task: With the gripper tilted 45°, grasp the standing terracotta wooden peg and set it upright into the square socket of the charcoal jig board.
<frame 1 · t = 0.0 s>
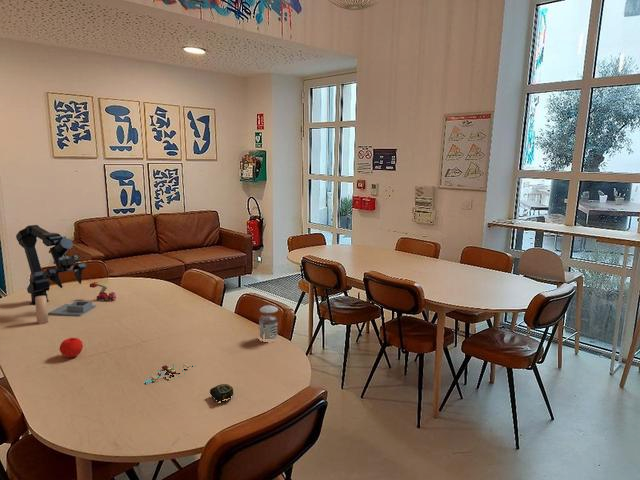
hand: (71, 285, 212), 15 cm above the table, fingers open, 9 cm apart
french press: (267, 339, 192), on the table
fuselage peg: (42, 322, 203), on the table
tape measure: (221, 400, 142), on the table
jig cradle: (80, 311, 219), on the table
apple: (72, 356, 170), on the table
toy fire truck: (103, 300, 238), on the table
gear mechanism: (170, 375, 159), on the table
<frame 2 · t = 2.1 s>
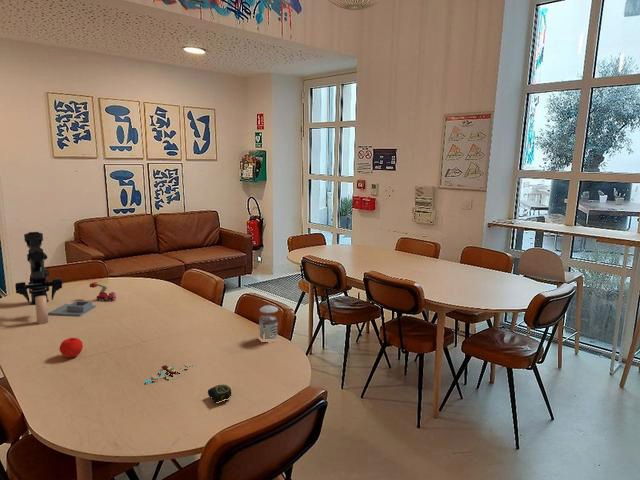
hand: (40, 300, 203), 10 cm above the table, fingers open, 9 cm apart
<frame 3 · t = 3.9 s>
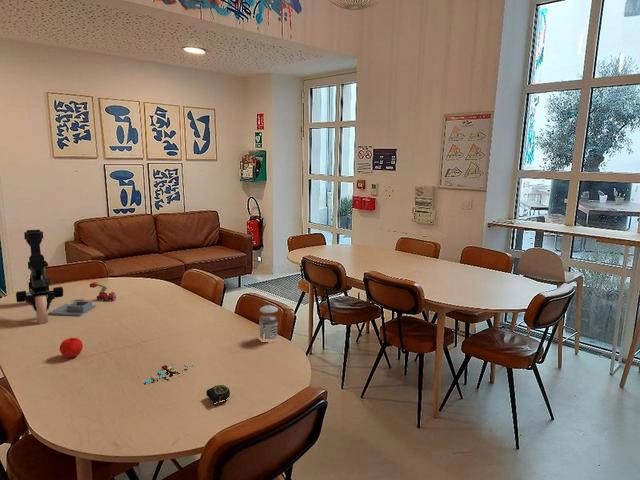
hand: (41, 310, 201), 7 cm above the table, fingers closed on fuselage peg, 4 cm apart
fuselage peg: (42, 322, 203), on the table, touching gripper
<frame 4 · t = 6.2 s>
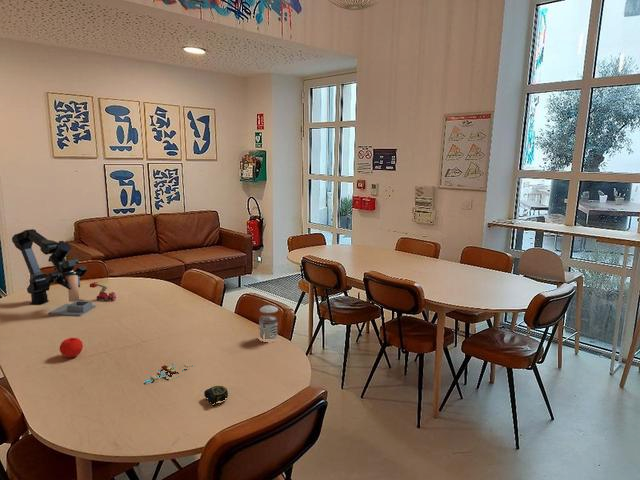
hand: (75, 288, 213), 13 cm above the table, fingers closed on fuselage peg, 4 cm apart
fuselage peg: (74, 300, 215), point 7 cm above the table, touching gripper
when the fingers open (9 cm above the table, at t = 7.9 s): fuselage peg drops 1 cm, resting on jig cradle.
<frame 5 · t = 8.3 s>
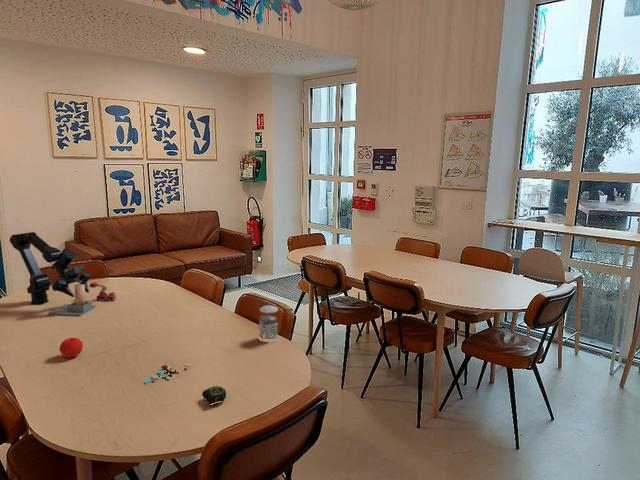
hand: (81, 294, 217), 9 cm above the table, fingers open, 8 cm apart
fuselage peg: (80, 309, 219), point 1 cm above the table, touching jig cradle
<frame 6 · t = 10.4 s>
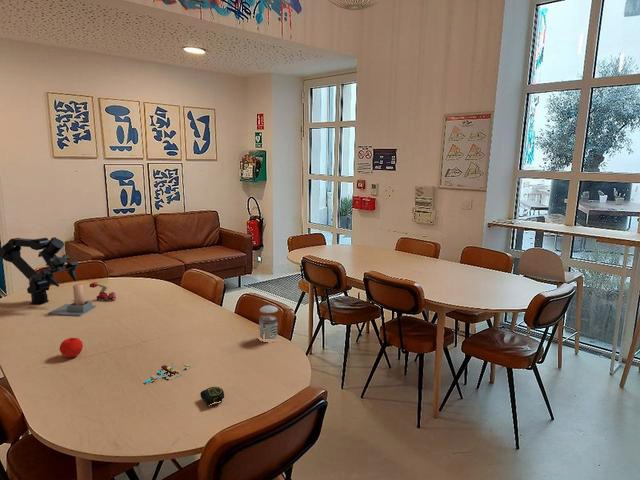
hand: (67, 283, 221), 13 cm above the table, fingers open, 9 cm apart
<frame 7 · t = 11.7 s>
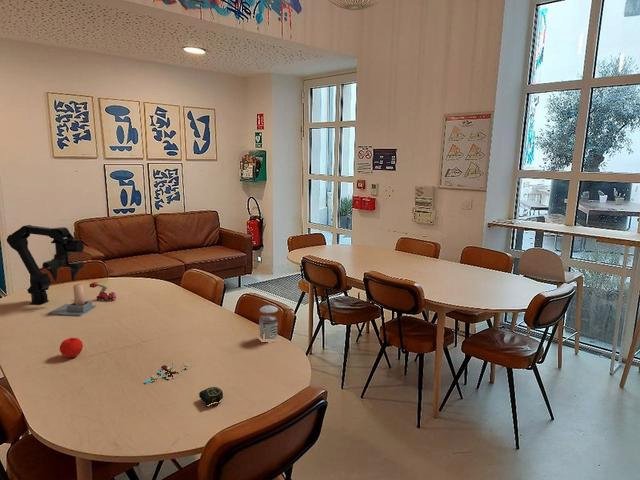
hand: (64, 280, 226), 13 cm above the table, fingers open, 9 cm apart
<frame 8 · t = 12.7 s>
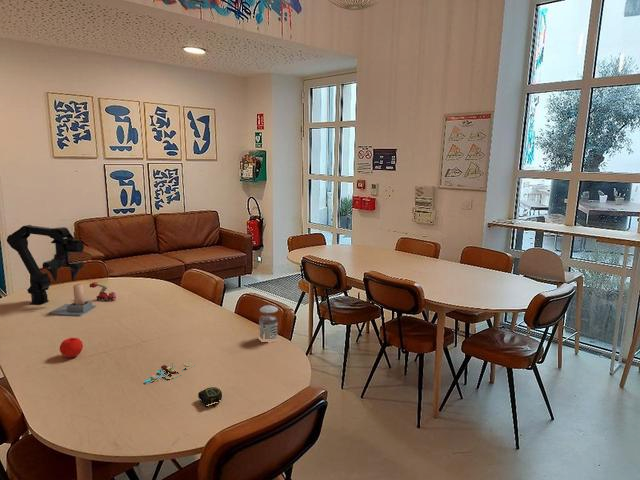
hand: (64, 280, 226), 13 cm above the table, fingers open, 9 cm apart
at the end: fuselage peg 0.0 cm off-centre on the jig cradle, point 1.0 cm above the jig cradle's base; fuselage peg tilted 1°; the gripper is holding nothing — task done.
